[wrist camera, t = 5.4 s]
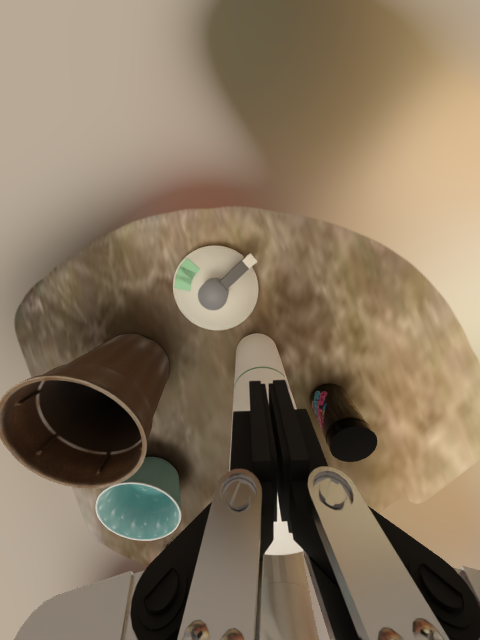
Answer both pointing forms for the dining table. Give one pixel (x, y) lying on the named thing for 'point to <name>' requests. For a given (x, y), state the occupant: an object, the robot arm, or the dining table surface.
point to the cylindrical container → (265, 365)
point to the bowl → (143, 502)
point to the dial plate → (205, 267)
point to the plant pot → (88, 414)
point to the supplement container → (342, 424)
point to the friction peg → (223, 285)
